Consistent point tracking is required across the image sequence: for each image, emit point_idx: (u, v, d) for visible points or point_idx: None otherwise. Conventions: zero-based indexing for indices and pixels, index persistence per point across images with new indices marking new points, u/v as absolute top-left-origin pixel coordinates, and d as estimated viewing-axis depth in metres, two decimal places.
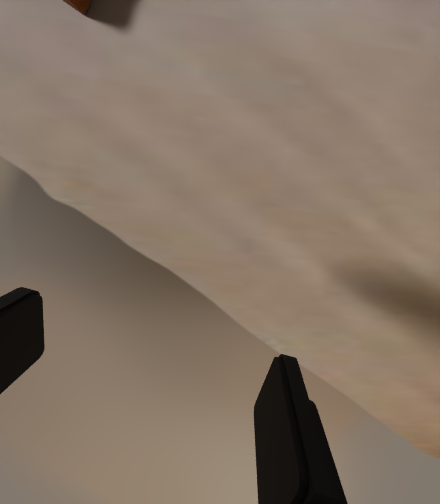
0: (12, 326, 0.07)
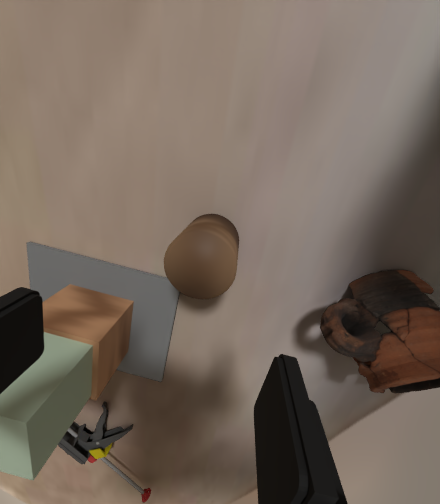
0: (12, 326, 0.07)
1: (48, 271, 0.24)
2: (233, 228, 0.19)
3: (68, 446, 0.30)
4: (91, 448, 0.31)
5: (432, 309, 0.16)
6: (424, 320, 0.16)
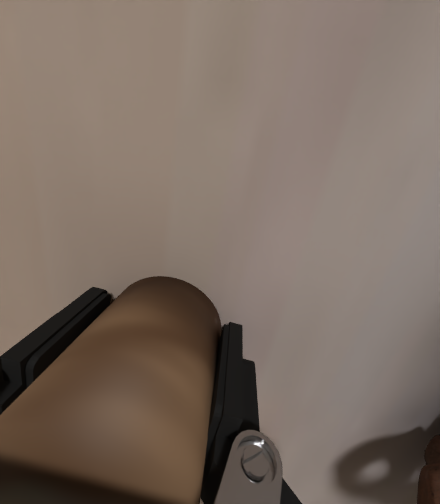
0: (92, 321, 0.08)
1: None
2: (206, 312, 0.09)
3: None
4: None
5: None
6: None
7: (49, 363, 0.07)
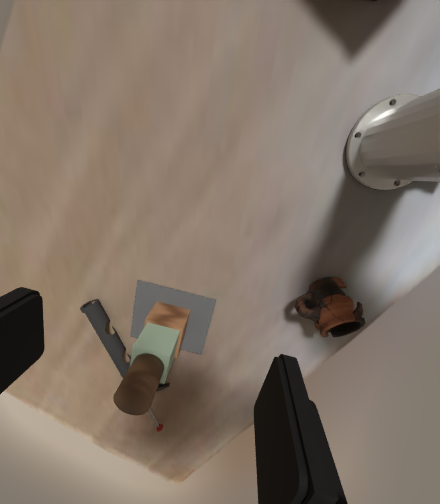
0: (12, 326, 0.07)
1: (146, 294, 0.46)
2: (158, 364, 0.34)
3: None
4: None
5: (341, 294, 0.38)
6: (337, 299, 0.37)
7: None
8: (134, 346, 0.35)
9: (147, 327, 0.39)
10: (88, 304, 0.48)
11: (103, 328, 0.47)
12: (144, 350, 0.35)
